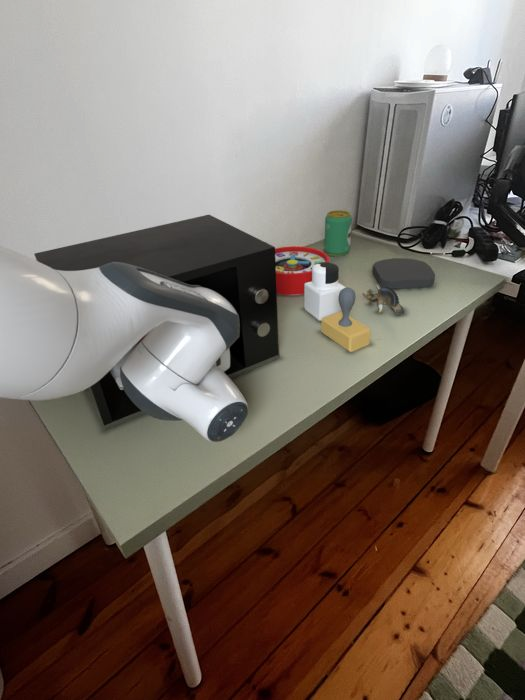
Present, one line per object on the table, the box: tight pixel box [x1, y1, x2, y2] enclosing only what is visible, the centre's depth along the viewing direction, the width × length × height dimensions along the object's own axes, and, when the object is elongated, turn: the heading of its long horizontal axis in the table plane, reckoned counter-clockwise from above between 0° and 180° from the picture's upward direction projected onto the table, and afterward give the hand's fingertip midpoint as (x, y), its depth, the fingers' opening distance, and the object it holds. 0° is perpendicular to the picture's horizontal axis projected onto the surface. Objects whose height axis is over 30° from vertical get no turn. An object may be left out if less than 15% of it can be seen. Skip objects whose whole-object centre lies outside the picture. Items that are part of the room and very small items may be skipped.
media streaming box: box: [372, 257, 436, 289], centre depth 118 cm, size 15×15×3 cm
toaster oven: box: [33, 214, 280, 431], centre depth 84 cm, size 36×27×24 cm
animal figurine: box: [362, 284, 406, 316], centre depth 103 cm, size 8×7×9 cm
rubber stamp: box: [320, 287, 372, 353], centre depth 91 cm, size 10×6×12 cm, turn 31°
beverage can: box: [323, 209, 353, 257], centre depth 134 cm, size 8×8×12 cm
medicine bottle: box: [303, 261, 347, 322], centre depth 102 cm, size 7×7×12 cm
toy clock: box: [275, 245, 330, 296], centre depth 120 cm, size 20×6×20 cm
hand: (153, 334), depth 81 cm, fingers closed on sauce bottle, 6 cm apart
